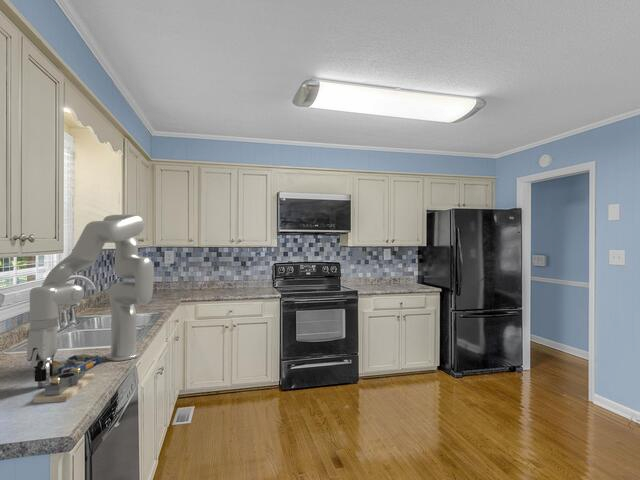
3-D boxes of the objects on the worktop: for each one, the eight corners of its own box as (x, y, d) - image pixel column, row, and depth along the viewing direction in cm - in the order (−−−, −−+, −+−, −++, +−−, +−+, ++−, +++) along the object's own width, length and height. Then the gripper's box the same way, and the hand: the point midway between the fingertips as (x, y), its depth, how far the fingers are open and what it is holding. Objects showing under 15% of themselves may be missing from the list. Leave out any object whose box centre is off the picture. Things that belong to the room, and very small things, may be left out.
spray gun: (32, 379, 131) (76, 379, 132) (33, 367, 131) (76, 367, 132) (69, 362, 152) (106, 362, 153) (69, 351, 152) (107, 352, 153)
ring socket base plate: (65, 379, 131) (66, 362, 131) (93, 377, 133) (94, 360, 133) (33, 403, 111) (33, 382, 111) (66, 401, 113) (67, 381, 113)
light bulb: (40, 383, 125) (40, 356, 125) (54, 382, 126) (54, 355, 126) (33, 388, 121) (33, 360, 121) (47, 387, 122) (47, 359, 122)
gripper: (44, 318, 131) (44, 371, 131) (15, 330, 115) (15, 389, 115) (68, 318, 133) (68, 369, 133) (42, 329, 116) (42, 387, 116)
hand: (43, 378), depth 124 cm, fingers closed on light bulb, 3 cm apart
